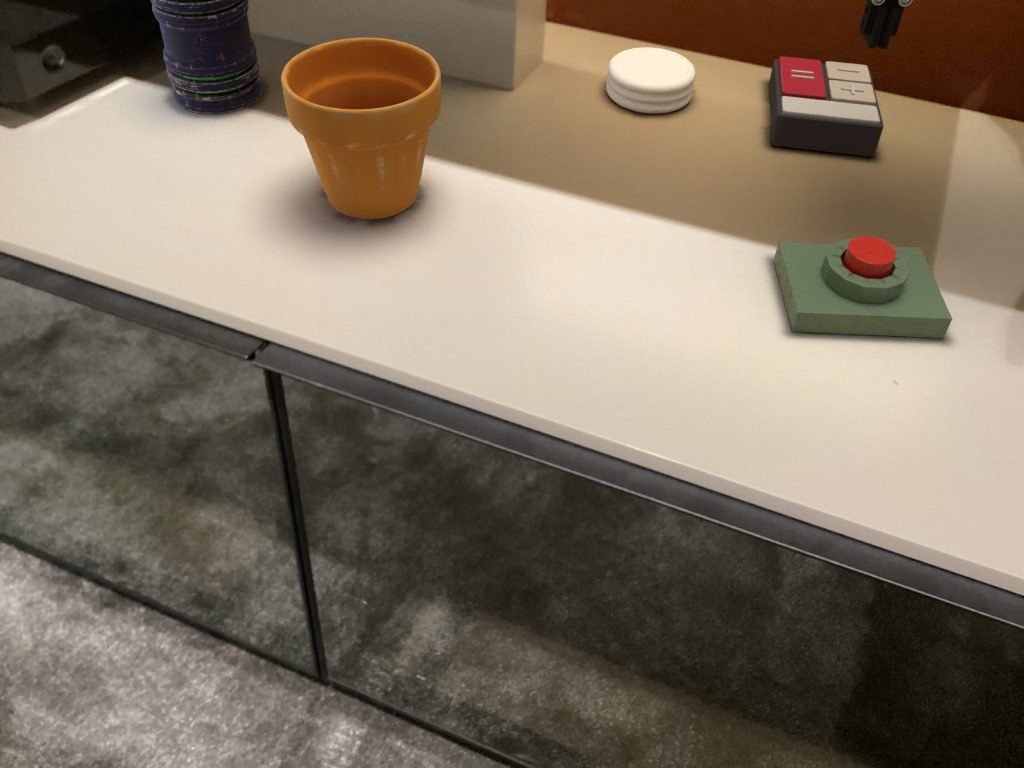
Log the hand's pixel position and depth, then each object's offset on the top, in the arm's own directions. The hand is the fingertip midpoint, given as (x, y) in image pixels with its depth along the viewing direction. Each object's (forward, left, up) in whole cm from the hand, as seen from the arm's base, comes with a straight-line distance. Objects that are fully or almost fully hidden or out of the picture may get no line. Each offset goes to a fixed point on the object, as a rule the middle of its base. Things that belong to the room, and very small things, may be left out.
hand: (874, 41), depth 89 cm
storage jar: (+67, -13, -15) cm, 70 cm away
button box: (+2, +19, -15) cm, 24 cm away
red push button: (+2, +19, -11) cm, 22 cm away
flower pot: (+47, +6, -15) cm, 50 cm away
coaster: (+18, -17, -15) cm, 29 cm away
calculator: (-1, -13, -15) cm, 20 cm away
